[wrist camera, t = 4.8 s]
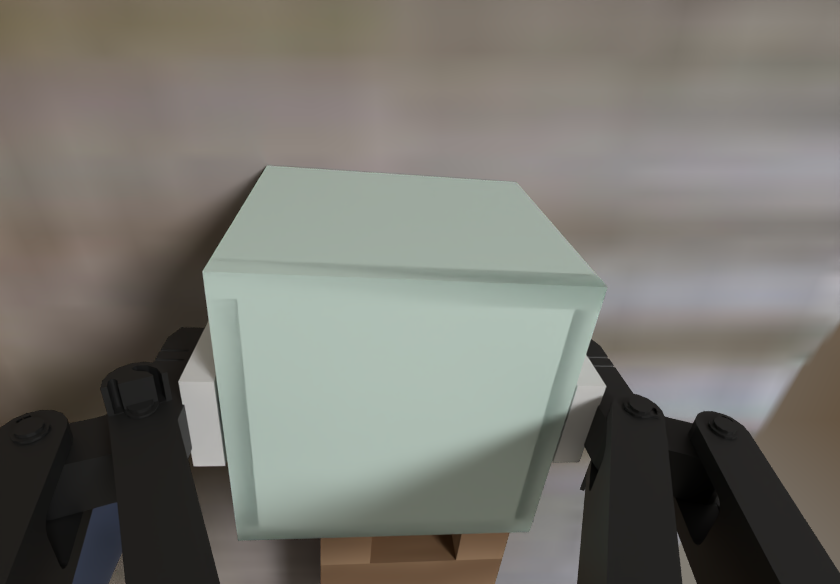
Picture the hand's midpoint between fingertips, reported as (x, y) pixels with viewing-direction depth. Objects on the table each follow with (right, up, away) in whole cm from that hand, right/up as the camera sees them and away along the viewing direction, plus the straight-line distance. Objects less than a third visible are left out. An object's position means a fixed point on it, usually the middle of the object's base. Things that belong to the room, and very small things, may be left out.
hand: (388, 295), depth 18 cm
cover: (0, 0, +1) cm, 1 cm away
